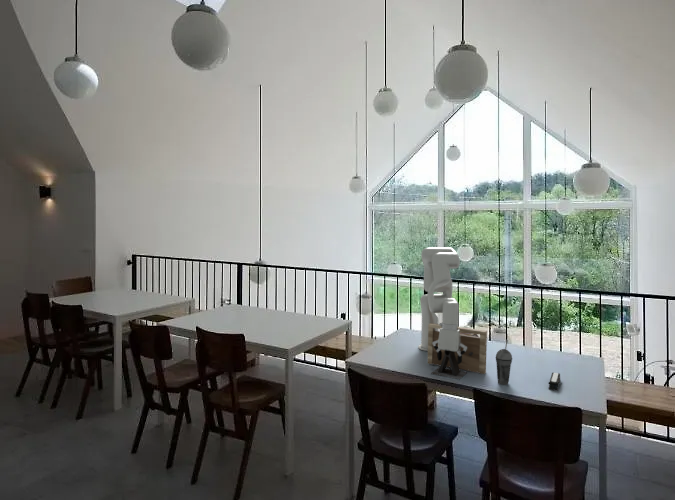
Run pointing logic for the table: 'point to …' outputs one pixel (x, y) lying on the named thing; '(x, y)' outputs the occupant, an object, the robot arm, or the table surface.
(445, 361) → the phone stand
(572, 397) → the table surface
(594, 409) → the table surface
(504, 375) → the beverage cup
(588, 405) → the table surface
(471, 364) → the model door
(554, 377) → the bus
